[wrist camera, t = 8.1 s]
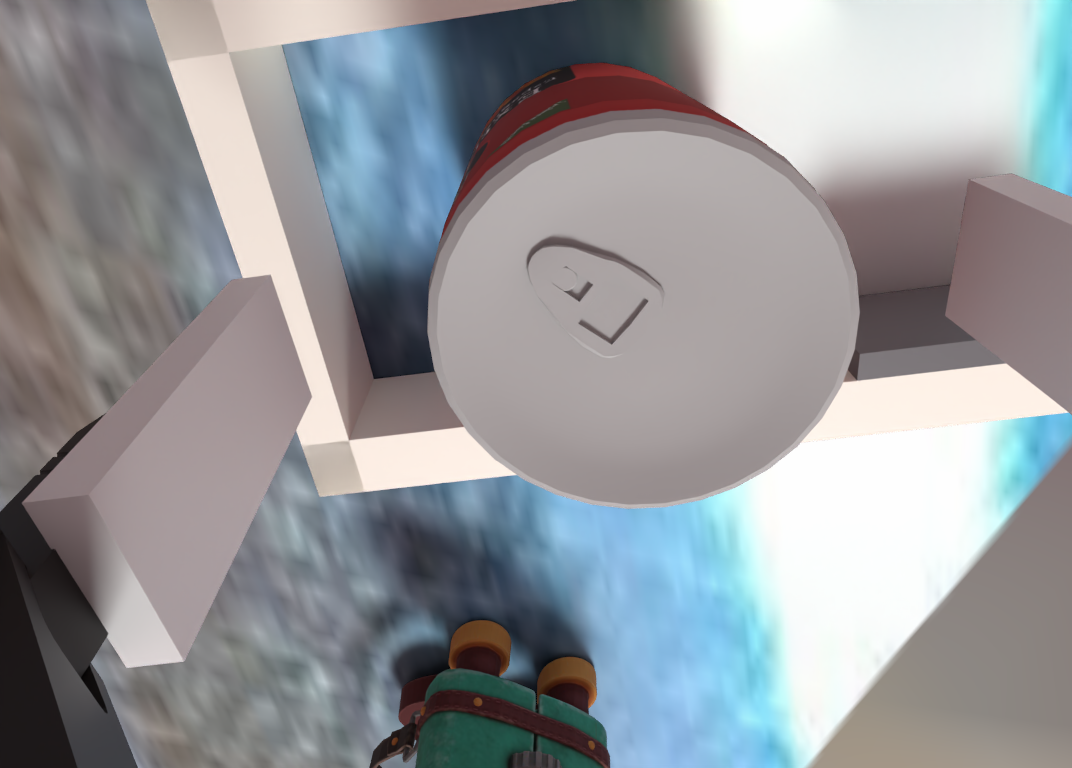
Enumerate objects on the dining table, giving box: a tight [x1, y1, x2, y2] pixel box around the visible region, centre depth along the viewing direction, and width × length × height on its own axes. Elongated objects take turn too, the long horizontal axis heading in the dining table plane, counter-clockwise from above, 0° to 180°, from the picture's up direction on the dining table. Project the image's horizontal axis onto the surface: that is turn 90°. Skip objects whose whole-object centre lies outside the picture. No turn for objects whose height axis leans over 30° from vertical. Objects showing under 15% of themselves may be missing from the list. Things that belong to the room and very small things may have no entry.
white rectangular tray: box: [146, 0, 1068, 497], centre depth 20 cm, size 15×24×4 cm, turn 98°
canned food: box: [427, 63, 860, 509], centre depth 17 cm, size 8×8×11 cm
